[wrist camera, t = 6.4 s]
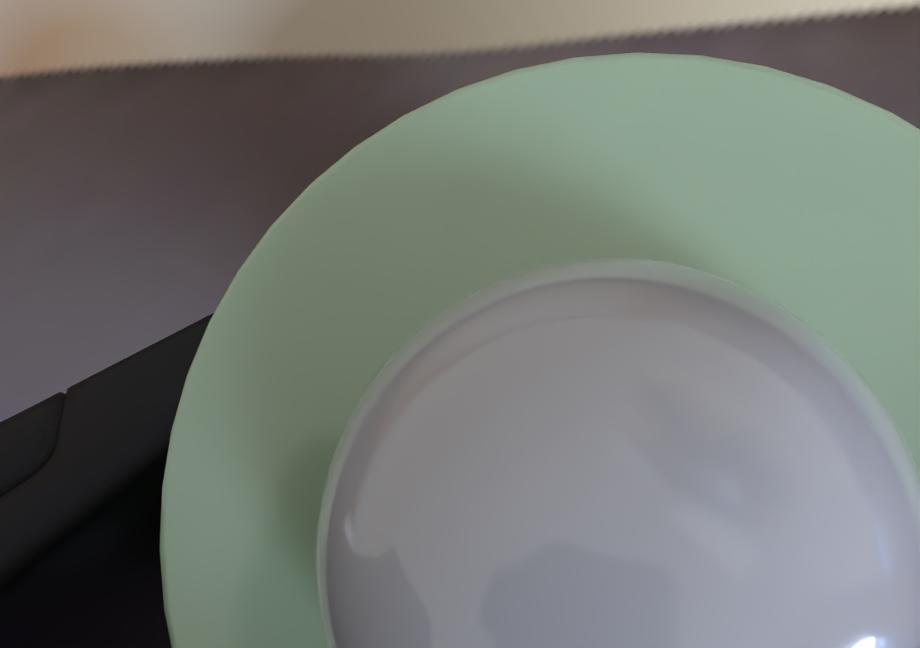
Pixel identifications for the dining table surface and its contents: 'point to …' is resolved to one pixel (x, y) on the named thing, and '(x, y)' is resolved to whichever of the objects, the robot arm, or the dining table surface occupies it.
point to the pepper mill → (569, 378)
